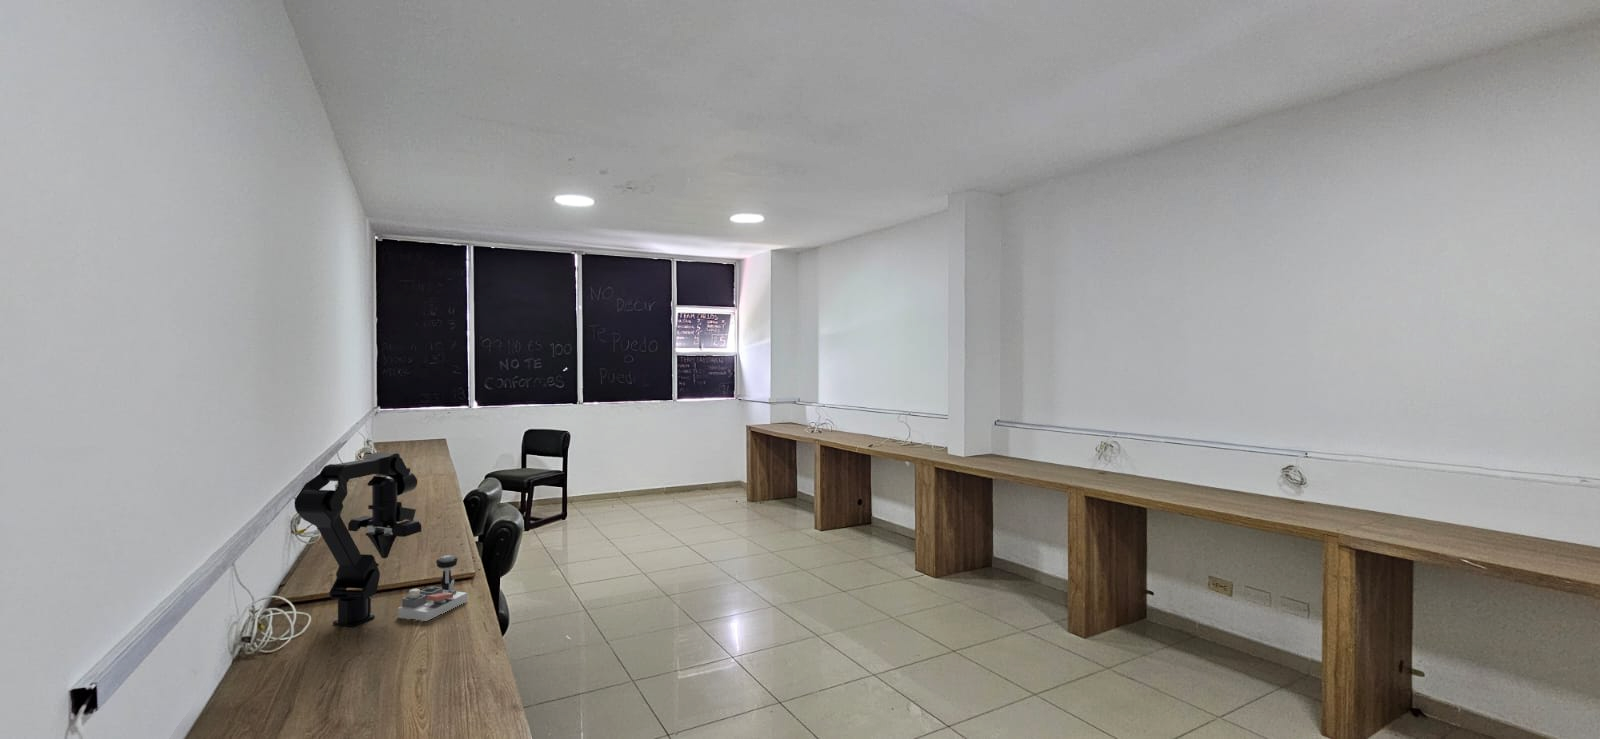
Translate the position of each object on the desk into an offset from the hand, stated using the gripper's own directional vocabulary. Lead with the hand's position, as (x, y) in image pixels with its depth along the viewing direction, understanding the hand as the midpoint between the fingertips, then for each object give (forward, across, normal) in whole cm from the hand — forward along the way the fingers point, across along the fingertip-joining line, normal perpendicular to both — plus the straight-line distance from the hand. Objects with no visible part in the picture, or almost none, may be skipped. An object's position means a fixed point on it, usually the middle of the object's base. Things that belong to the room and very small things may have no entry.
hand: (384, 557), depth 184 cm
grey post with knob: (+12, -9, -12) cm, 19 cm away
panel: (+12, -16, 0) cm, 20 cm away
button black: (+9, -13, -2) cm, 16 cm away
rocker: (+8, -19, +1) cm, 20 cm away
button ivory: (+8, -13, +4) cm, 16 cm away
